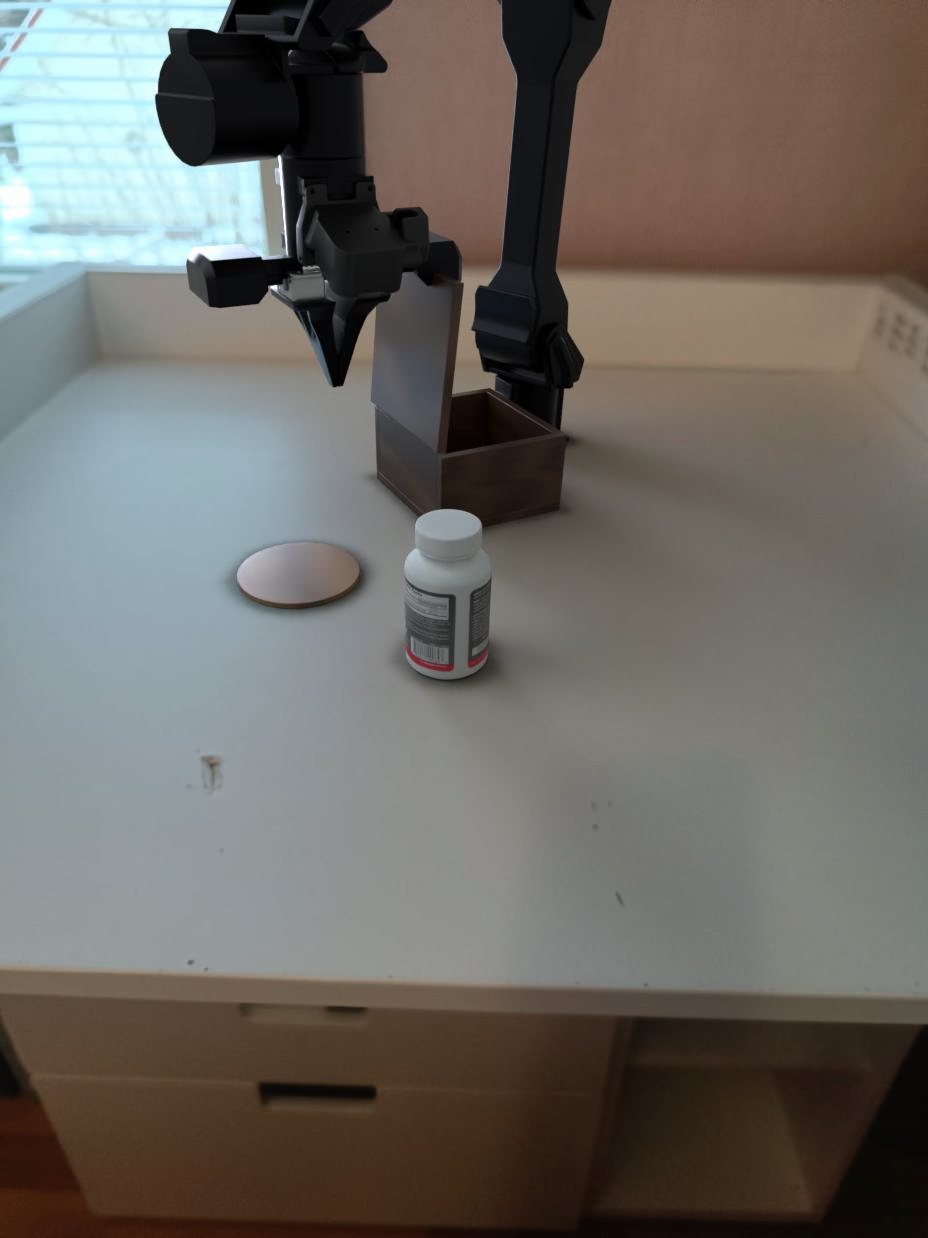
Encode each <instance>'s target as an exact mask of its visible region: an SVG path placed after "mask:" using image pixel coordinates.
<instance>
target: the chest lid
mask: <svg viewBox="0 0 928 1238" xmlns="http://www.w3.org/2000/svg"><path fill="white" fill-rule="evenodd" d="M464 287H465V283H464V282H462V281H458V280H456V279H454V278H451V277H449V276H447V275H445V274H443V273H433V279H432V286H426V285H424V284H423V283H422V282H421V281H420V280H419V279H418V278H417V277H416V276H415V275H414V272H405V273H402V280H401V287H400V290H399V291H397V292H395V293H390V294H391V297H390V299H389V301H388V302H382V303H379V304H378V305H377V306H376V307H375V321H374V323H375V324H374V336H373V337H374V338H373V352H372V353H373V355H372V368H371V369H372V372H371V387H370V388H371V389H370V402H371V403H372V404H374V405H375V406H378V407H379V408H380V409H381V410H383V411H384V412H385V413H386V414H388V415H389V416H390V417H392V418H393V419H394V420H395V421H397V422H398V423H399V424H400V425H402V426H403V427H404V428H406V429H407V430H408V431H409V432H411V433H412V434H413V435H414V436H416V437H417V438H418V439H420V440H421V441H422V442H423V443H425V444H426V445H427V446H428V447H430V448H431V449H432V450H433V451H435V452H436V453H446V447H447V437H448V428H449V419H450V409H451V400H452V394H453V391H454V390H453V389H454V382H455V370H456V363H457V354H458V345H459V336H460V335H459V333H460V325H461V317H462V307H463V305H462V304H463V298H464Z"/></svg>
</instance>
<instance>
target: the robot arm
mask: <svg viewBox="0 0 928 1238" xmlns="http://www.w3.org/2000/svg"><path fill="white" fill-rule="evenodd" d="M393 1H394V0H230V2H229V4H228V7H227V9H226V11H225V14H224V16H223V19H222V21H221V23H220V26H219V28H218V30H217V32H215V31H213V30H211V29H207V28H190V27H189V28H188V27H170V28H169V29H168V31H167V37H168V45H169V51H170V53H169V54H168V55H167V57H166V58H165V59H164V60H163V62H162V65H161V67H160V70H159V74H158V80H157V93H155V95H154V102H155V103H154V104H155V110H156V114H157V119H158V123H159V126H160V129H161V132H162V135H163V137H164V139H165V141H166V143H167V145H168V147H169V148H170V150H171V151H172V152H173V154H174V155H175V157H176V158H177V159H178V160H180V161H181V163H183V164H186V165H187V166H189V167H193V168H197V167H207V166H208V167H209V166H217V165H229V164H237V163H238V164H240V163H248V162H259V161H270V160H273V159H277V158H278V163H279V164H278V166H279V167H274V174H275V175H274V176H275V184H276V185H278V186H280V189H281V190H280V191H281V200H282V201H281V202H282V212H283V213H282V214H283V227H284V231H281V232H280V243H281V248H282V249H283V250H285V251H286V254H278V255H265V256H261V255H260V254H258V253H256V252H255V251H254V250H252V249H251V248H249V247H248V246H245V245H244V244H243V243H236V244H222V245H210V246H198V247H197V246H196V247H192V248H191V250H190V252H189V253H188V255H187V257H186V263H185V267H186V275H187V281H188V287H189V291H191V292H192V293H193V294H194V295H195V296H196V297H197V298H199V300H201V301H202V302H203V303H204V304H205V305H206V306H207V307H208V308H213V309H225V308H226V309H227V308H235V307H244V306H246V307H247V306H256V305H260V303H261V302H262V300H263V299H264V298H265V296H266V295H267V294H268V293H269V291H270V295H271V296H272V297H273V298H275V299H276V300H278V301H279V302H280V303H282V304H283V305H285V306H286V307H288V308H289V309H290V310H292V311H293V313H294V316H296V319H297V320H298V321H299V323H300V325H301V326H302V329H303V331H304V333H305V335H306V337H307V339H308V341H309V343H310V345H311V348H312V350H313V352H314V355H315V357H316V359H317V362H318V363H319V365H320V368H321V370H322V372H323V374H324V376H325V379H326V381H327V383H328V385H329V386H331V387H332V388H340V387H344V385H345V381H346V379H347V375H348V372H349V368H350V366H351V361H352V359H353V355H354V353H355V349H356V344H357V343H358V340H359V336H360V334H361V331H362V329H363V326H364V324H365V322H366V320H367V318H368V316H369V315H370V314H371V313H372V312H373V311H374V309H376V306H377V305H378V304H379V303H382V302H388V301H389V299H390V297H391V294H390V293H395V292H397V291H399V290H400V287H401V280H402V273H405V272H414V275H415V276H416V277H417V278H418V279H419V280H420V281H421V282H422V283H423V284H424V285H426V286H432V279H433V273H443V274H445V275H447V276H449V277H451V278H454V279H456V280H458V281H460V282H462V281H463V279H462V278H463V255H462V253H461V250H460V247H459V246H458V245H457V243H456V242H455V241H454V240H453V239H450V238H448V237H445V236H443V235H440V234H438V233H436V232H433V231H430V223H429V221H430V220H429V215H427V213H426V212H425V211H424V209H423V207H420V206H408V207H396V208H395V209H393V210H392V211H391V210H390V211H381V210H380V209H381V208H380V207H379V202H378V200H377V187H376V184H375V176H374V175H373V174H369V173H367V157H366V156H367V155H366V154H367V153H366V125H365V98H364V97H365V95H364V74H365V75H366V74H369V75H370V74H385V73H386V72H387V71H388V69H389V66H388V65H389V64H388V62H387V60H386V59H385V57H383V55H382V54H381V53H380V52H379V50H377V49H376V47H374V46H373V45H372V44H371V42H370V40H369V39H368V37H367V34H366V33H365V31H364V30H362V29H361V28H362V27H363V26H365V25H366V24H368V23H369V22H370V21H372V20H373V19H375V18H376V17H377V16H378V15H380V14H381V13H383V12H384V11H385V10H386V9H388V8H389V7H391V6H392V3H393ZM496 1H497V2H498V4H499V5H500V7H501V8H500V10H501V12H500V14H501V15H500V17H501V18H500V19H501V20H500V21H501V23H500V24H501V40H502V43H503V45H504V48H505V51H506V53H507V56H508V58H509V61H510V64H511V67H512V69H513V71H514V75H515V77H516V87H515V96H514V97H515V98H514V109H513V121H512V130H511V131H512V132H511V143H510V153H509V154H510V156H509V165H508V177H507V188H506V189H507V190H506V199H505V210H504V211H505V212H504V223H503V232H502V233H503V234H502V245H501V246H502V247H501V256H500V257H501V258H500V263H499V267H498V268H497V270H496V272H495V273H494V275H493V276H492V277H491V279H490V281H489V282H488V283H487V285H482V284H480V285H478V286H477V288H476V290H475V292H474V316H473V321H472V323H471V326H470V330H471V331H472V332H474V343H475V346H476V349H477V351H478V354H479V358H480V364H481V369H482V371H483V372H484V373H488V374H489V373H490V374H495V377H494V391H496V392H497V393H499V394H501V395H502V396H504V397H505V398H507V399H509V400H510V401H512V402H514V403H515V404H517V405H519V406H520V407H522V408H523V409H525V410H527V411H528V412H530V413H532V414H533V415H535V416H537V417H538V418H540V419H541V420H543V421H545V422H546V423H548V424H550V425H551V426H553V427H555V428H556V429H558V430H559V431H561V432H563V433H564V434H566V435H567V438H566V443H567V442H569V441H570V435H569V434H568V433H566V432H564V431H562V419H563V409H564V399H565V390H570V389H573V388H574V384H575V383H577V382H579V380H580V378H581V374H582V372H583V367H584V363H585V357H584V356H583V354H582V353H581V351H580V349H579V347H578V346H577V344H576V343H575V341H574V339H573V338H572V336H571V334H570V333H569V301H568V298H567V296H566V292H565V291H564V287H563V285H562V282H561V280H560V277H559V274H558V272H557V259H558V253H559V251H558V250H559V241H560V233H561V227H562V226H561V225H562V217H563V210H564V209H563V208H564V201H565V191H566V183H567V176H568V168H569V167H568V166H569V159H570V148H571V140H572V131H573V125H574V115H575V108H576V99H577V91H578V86H579V82H580V81H581V79H582V77H583V76H584V74H585V72H586V71H587V70H588V68H589V66H590V65H591V63H592V62H593V60H594V59H595V57H596V55H597V53H598V52H599V51H600V49H601V47H602V45H603V41H604V36H605V30H606V27H607V23H608V16H609V13H610V8H611V6H612V1H613V0H496ZM309 267H311V268H309ZM313 267H314V268H313ZM269 287H270V289H269Z"/></svg>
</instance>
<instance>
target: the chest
mask: <svg viewBox="0 0 928 1238" xmlns="http://www.w3.org/2000/svg"><path fill="white" fill-rule="evenodd" d="M374 423H375V424H374V427H375V459H376V479H377V480H379V482H381V483H382V484H383V485H384V486H385V487H386V488H387V489H388V490H389V491H390V492H391V493H392V494H393V495H394V496H395V497H397V498H398V500H400V502H402V503H403V504H404V505H405V506H406V507H408V509H410V510H411V511H412V512H413V513H414V514H415V515H416V516H417V517H418V518H419V517H421V516H422V515H424V514H426V513H428V512H431V511H435V510H442V509H453V510H461V511H465V512H468V513H471V514H473V515H474V516H476V517H477V518H478V519H479V520H480V521H481V524H482V528H485V527H489V526H490V527H491V526H495V525H500V524H503V523H507V522H512V521H515V520H520V519H525V518H528V517H533V516H537V515H542V514H546V513H551V512H554V511H555V512H556V511H558V510H560V509H561V508H560V507H561V500H562V499H561V498H562V489H563V478H564V469H565V468H564V466H565V457H566V448H567V442H566V438H567V435H568V434H567V433H566V434H567V435H566V434H564V433H565V432H564V431H562V430H561V431H562V432H561V431H559V430H558V429H556V428H555V427H553V426H551V425H550V424H548V423H546V422H545V421H543V420H541V419H540V418H538V417H537V416H535V415H533V414H532V413H530V412H528V411H527V410H525V409H523V408H522V407H520V406H519V405H517V404H515V403H514V402H512V401H510V400H509V399H507V398H505V397H504V396H502V395H501V394H499V393H497V392H496V391H495V389H493V388H490V387H488V388H487V387H486V388H481V389H474V390H468V391H462V392H456V393H452V400H451V409H450V419H449V428H448V437H447V447H446V453H436V452H435V451H433V450H432V449H431V448H430V447H428V446H427V445H426V444H425V443H423V442H422V441H421V440H420V439H418V438H417V437H416V436H414V435H413V434H412V433H411V432H409V431H408V430H407V429H406V428H404V427H403V426H402V425H400V424H399V423H398V422H397V421H395V420H394V419H393V418H392V417H390V416H389V415H388V414H386V413H385V412H384V411H383V410H381V409H380V408H379V407H378V406H376V405H375V406H374ZM563 432H564V433H563Z"/></svg>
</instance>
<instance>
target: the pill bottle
mask: <svg viewBox="0 0 928 1238" xmlns="http://www.w3.org/2000/svg"><path fill="white" fill-rule="evenodd" d="M414 543H415V548H414V549H412V550H411V551H410V552H409V553H408V555H407V556H406V559H405V562H404V570H403V574H404V576H403V578H404V581H403V582H404V623H405V624H404V629H405V630H404V631H405V634H404V635H405V636H404V637H405V639H404V640H405V656H406V660H407V663H409V664H408V665H410V666H411V667H412V668H413V669H414V671H416V672H418V673H420V674H421V675H424V676H426V677H429V678H433V679H438V680H456V679H462V678H466V677H468V676H471V675H474V674H475V673H477V672H478V671H479V670H480V669H481V668H483V666H484V665H485V664H486V661H487V660H488V656H489V644H490V623H491V622H490V621H491V617H490V616H491V598H492V580H493V564H492V561H491V558H490V556H489V555H488V554H487V552H486V551H485V550H484V549H482V546H483V527H482V524H481V521H480V520H479V519H478V518H477V517H476V516H474V515H473V514H471V513H468V512H465V511H461V510H453V509H442V510H435V511H431V512H428V513H426V514H424V515H422V516H421V517H418V518H417V520H416V521H415V525H414Z"/></svg>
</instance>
